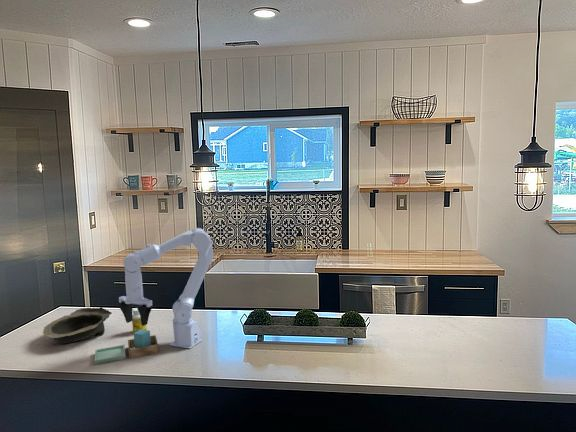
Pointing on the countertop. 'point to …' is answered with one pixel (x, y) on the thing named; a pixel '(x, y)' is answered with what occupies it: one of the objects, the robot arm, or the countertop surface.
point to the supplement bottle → (137, 321)
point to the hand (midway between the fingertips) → (136, 323)
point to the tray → (110, 354)
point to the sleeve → (143, 348)
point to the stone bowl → (77, 325)
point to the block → (142, 338)
